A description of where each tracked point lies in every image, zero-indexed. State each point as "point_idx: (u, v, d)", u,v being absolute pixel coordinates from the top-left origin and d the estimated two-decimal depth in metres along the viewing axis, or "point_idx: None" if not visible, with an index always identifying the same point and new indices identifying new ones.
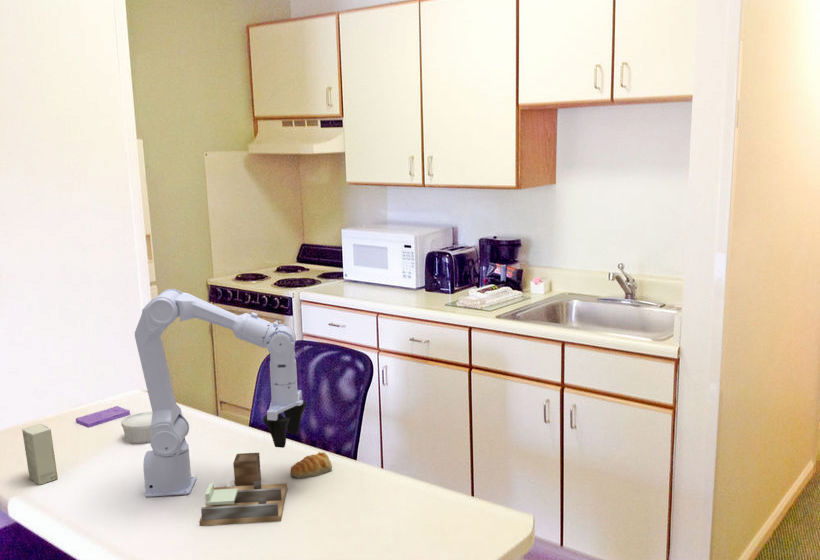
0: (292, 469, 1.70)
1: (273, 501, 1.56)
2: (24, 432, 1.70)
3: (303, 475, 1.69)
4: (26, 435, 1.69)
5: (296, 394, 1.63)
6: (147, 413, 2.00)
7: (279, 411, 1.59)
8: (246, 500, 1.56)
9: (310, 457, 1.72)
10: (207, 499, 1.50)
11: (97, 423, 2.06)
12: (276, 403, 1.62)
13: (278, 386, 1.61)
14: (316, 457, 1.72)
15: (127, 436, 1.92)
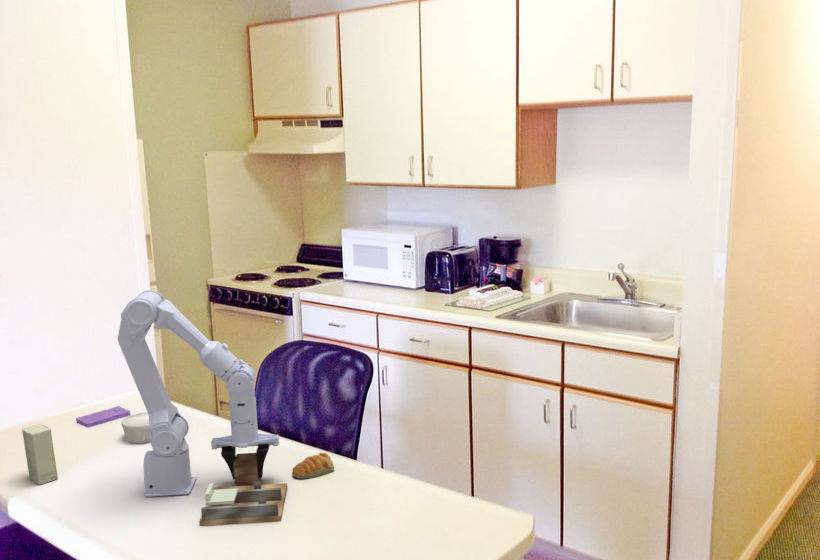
0: (294, 470, 1.69)
1: (273, 501, 1.56)
2: (24, 432, 1.70)
3: (305, 475, 1.68)
4: (26, 435, 1.69)
5: (242, 436, 1.62)
6: (147, 413, 2.00)
7: (218, 443, 1.64)
8: (246, 500, 1.56)
9: (312, 458, 1.72)
10: (207, 499, 1.50)
11: (97, 423, 2.06)
12: None
13: None
14: (318, 458, 1.72)
15: (127, 436, 1.92)
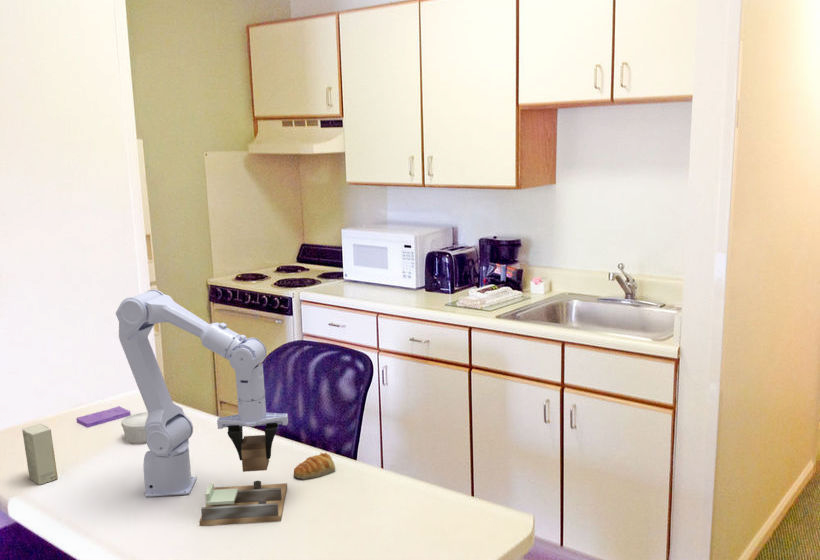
0: (295, 470, 1.69)
1: (273, 501, 1.56)
2: (24, 432, 1.70)
3: (307, 476, 1.68)
4: (26, 435, 1.69)
5: (250, 414, 1.55)
6: (147, 413, 2.00)
7: (224, 422, 1.57)
8: (246, 500, 1.56)
9: (313, 458, 1.72)
10: (207, 499, 1.50)
11: (96, 423, 2.06)
12: None
13: None
14: (319, 458, 1.71)
15: (127, 436, 1.92)
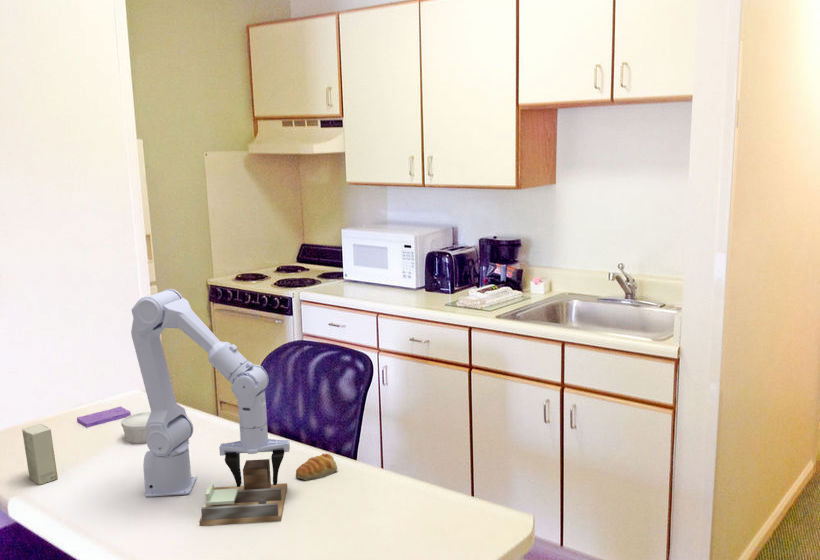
0: (298, 471, 1.68)
1: (273, 501, 1.56)
2: (24, 432, 1.70)
3: (309, 476, 1.68)
4: (26, 435, 1.69)
5: (252, 441, 1.56)
6: (147, 413, 2.00)
7: (226, 449, 1.58)
8: (246, 500, 1.56)
9: (315, 458, 1.71)
10: (207, 499, 1.50)
11: (96, 423, 2.06)
12: None
13: None
14: (321, 458, 1.71)
15: (127, 436, 1.92)
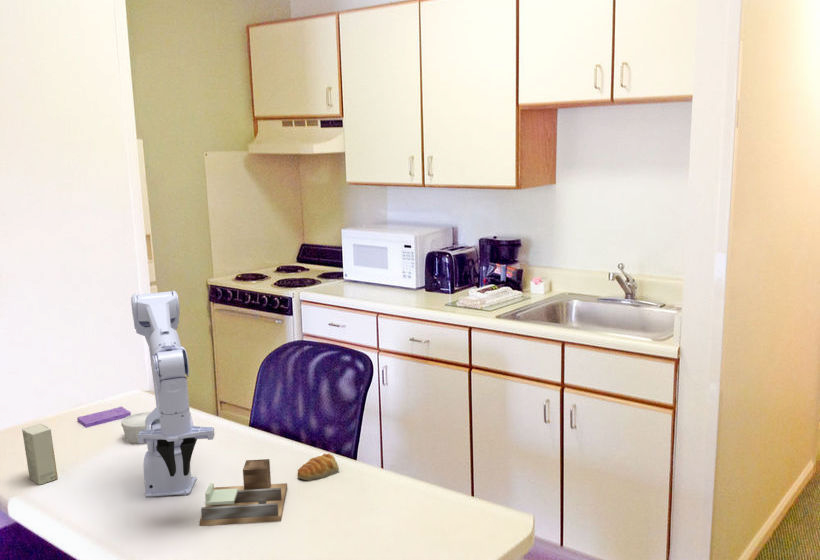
0: (299, 472, 1.68)
1: (273, 501, 1.56)
2: (24, 432, 1.70)
3: (311, 477, 1.67)
4: (26, 435, 1.69)
5: (172, 428, 1.46)
6: (147, 413, 2.00)
7: (145, 436, 1.48)
8: (246, 500, 1.56)
9: (316, 459, 1.71)
10: (207, 499, 1.50)
11: (95, 423, 2.06)
12: None
13: None
14: (323, 458, 1.71)
15: (127, 436, 1.92)
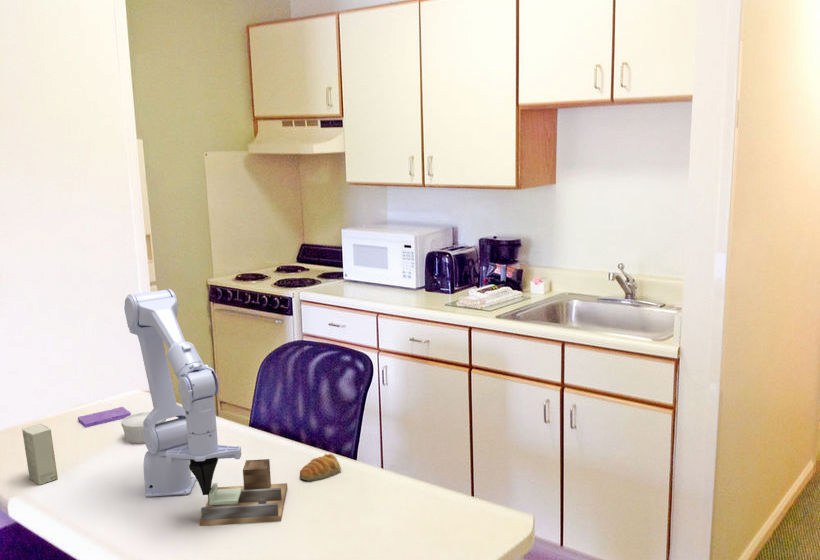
0: (302, 472, 1.68)
1: (273, 501, 1.56)
2: (24, 432, 1.70)
3: (314, 477, 1.67)
4: (26, 435, 1.69)
5: (200, 448, 1.47)
6: (147, 413, 2.00)
7: (173, 455, 1.49)
8: (246, 500, 1.56)
9: (318, 459, 1.71)
10: (211, 499, 1.50)
11: (95, 423, 2.06)
12: None
13: None
14: (325, 459, 1.71)
15: (127, 436, 1.92)
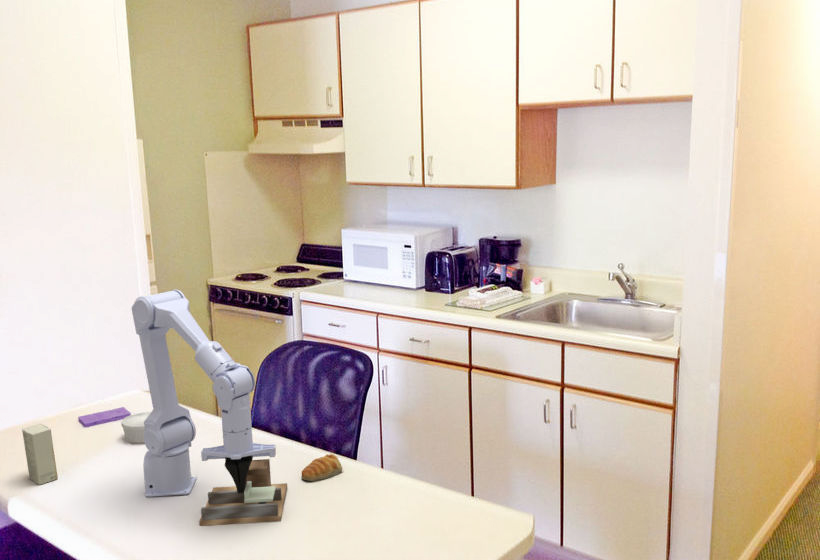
0: (304, 473, 1.68)
1: (273, 501, 1.56)
2: (24, 432, 1.70)
3: (316, 477, 1.67)
4: (26, 435, 1.69)
5: (235, 446, 1.48)
6: (147, 413, 2.00)
7: (208, 454, 1.49)
8: None
9: (320, 460, 1.71)
10: (246, 497, 1.50)
11: (94, 423, 2.06)
12: None
13: None
14: (326, 459, 1.71)
15: (127, 436, 1.92)
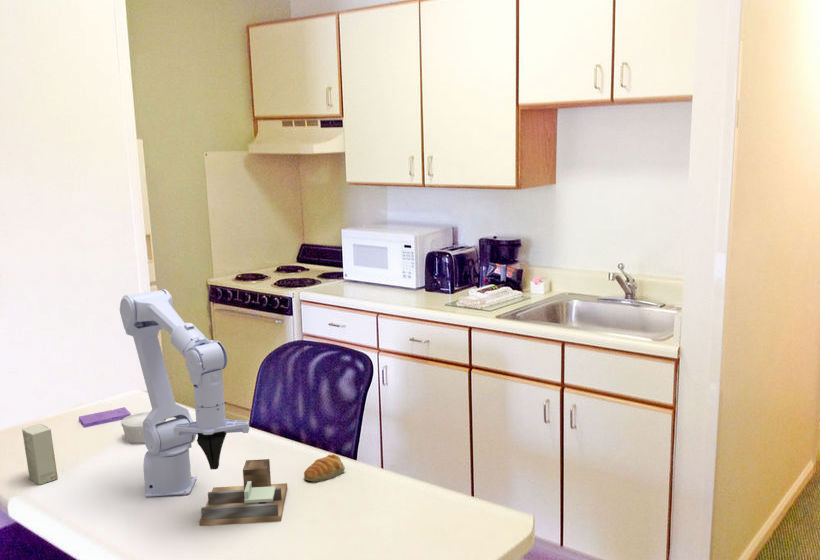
0: (306, 473, 1.67)
1: (273, 501, 1.56)
2: (24, 432, 1.70)
3: (319, 478, 1.67)
4: (26, 435, 1.69)
5: (208, 421, 1.46)
6: (147, 413, 2.00)
7: (181, 429, 1.48)
8: None
9: (322, 460, 1.70)
10: (246, 497, 1.50)
11: (94, 424, 2.06)
12: None
13: None
14: (328, 459, 1.70)
15: (127, 436, 1.92)
